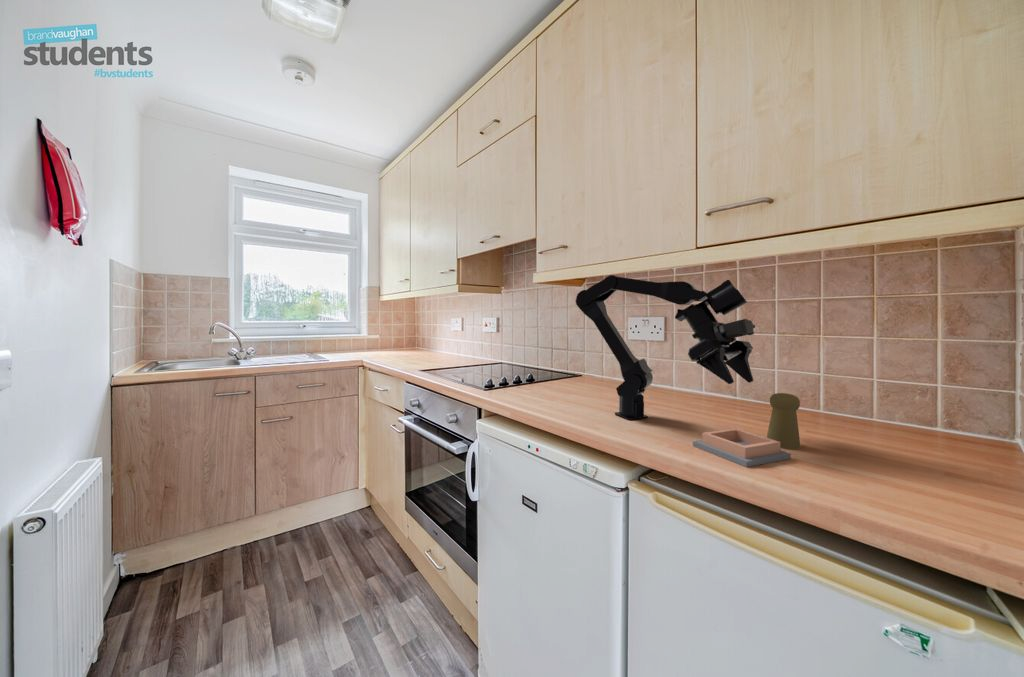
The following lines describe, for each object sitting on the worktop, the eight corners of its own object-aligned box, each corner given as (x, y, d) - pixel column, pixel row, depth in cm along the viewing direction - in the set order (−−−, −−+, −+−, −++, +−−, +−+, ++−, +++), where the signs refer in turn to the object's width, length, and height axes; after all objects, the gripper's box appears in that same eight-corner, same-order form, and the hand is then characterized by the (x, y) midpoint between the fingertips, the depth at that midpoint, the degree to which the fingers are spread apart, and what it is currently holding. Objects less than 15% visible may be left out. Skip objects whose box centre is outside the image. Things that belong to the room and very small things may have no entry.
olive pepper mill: (759, 439, 82) (761, 391, 81) (787, 440, 82) (789, 391, 81) (778, 449, 76) (780, 396, 75) (808, 449, 76) (810, 397, 75)
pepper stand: (692, 445, 78) (693, 431, 78) (733, 439, 82) (734, 426, 82) (746, 467, 67) (746, 450, 67) (790, 458, 71) (791, 443, 71)
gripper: (713, 301, 79) (756, 364, 71) (753, 308, 89) (794, 364, 82) (672, 331, 86) (708, 390, 79) (713, 334, 97) (748, 387, 89)
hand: (741, 382), depth 82 cm, fingers open, 9 cm apart
